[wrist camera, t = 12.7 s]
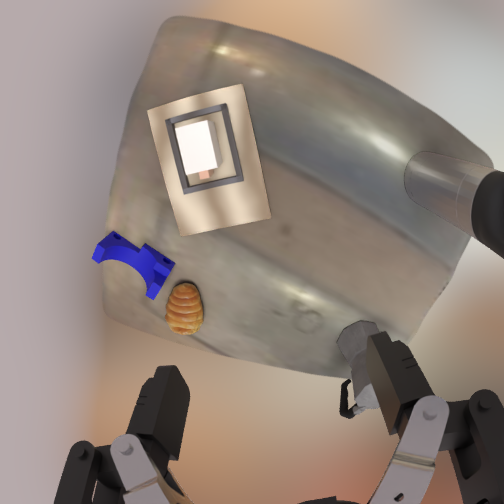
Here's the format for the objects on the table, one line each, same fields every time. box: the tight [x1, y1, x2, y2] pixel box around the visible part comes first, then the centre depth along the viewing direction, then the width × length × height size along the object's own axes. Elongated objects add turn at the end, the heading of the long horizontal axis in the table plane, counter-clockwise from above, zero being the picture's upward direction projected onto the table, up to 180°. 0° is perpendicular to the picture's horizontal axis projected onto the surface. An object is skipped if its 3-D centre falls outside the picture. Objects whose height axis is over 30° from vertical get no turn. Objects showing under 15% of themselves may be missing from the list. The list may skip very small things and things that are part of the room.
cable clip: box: [92, 231, 175, 300], centre depth 43 cm, size 12×4×6 cm, turn 54°
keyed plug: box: [175, 120, 223, 180], centre depth 35 cm, size 4×7×6 cm, turn 11°
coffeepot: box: [337, 321, 380, 419], centre depth 45 cm, size 15×9×18 cm, turn 143°
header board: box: [147, 84, 271, 237], centre depth 38 cm, size 14×20×2 cm
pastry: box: [165, 283, 203, 335], centre depth 47 cm, size 9×7×4 cm
